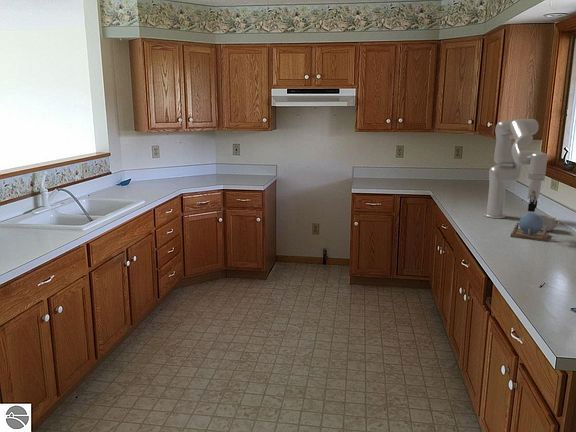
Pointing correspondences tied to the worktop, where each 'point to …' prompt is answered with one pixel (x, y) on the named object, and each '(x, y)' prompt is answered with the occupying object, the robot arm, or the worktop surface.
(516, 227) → the dish rack
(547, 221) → the teacup
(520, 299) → the worktop surface
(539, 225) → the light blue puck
